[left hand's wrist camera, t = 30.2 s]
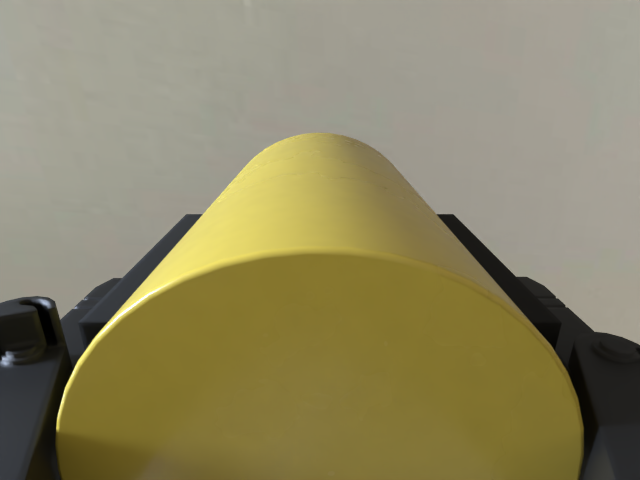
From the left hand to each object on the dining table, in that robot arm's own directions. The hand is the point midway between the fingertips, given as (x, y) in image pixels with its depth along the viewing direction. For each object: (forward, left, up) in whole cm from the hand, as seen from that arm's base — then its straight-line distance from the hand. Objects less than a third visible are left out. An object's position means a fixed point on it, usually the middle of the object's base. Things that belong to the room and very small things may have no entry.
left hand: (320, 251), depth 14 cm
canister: (0, 0, -2) cm, 2 cm away
